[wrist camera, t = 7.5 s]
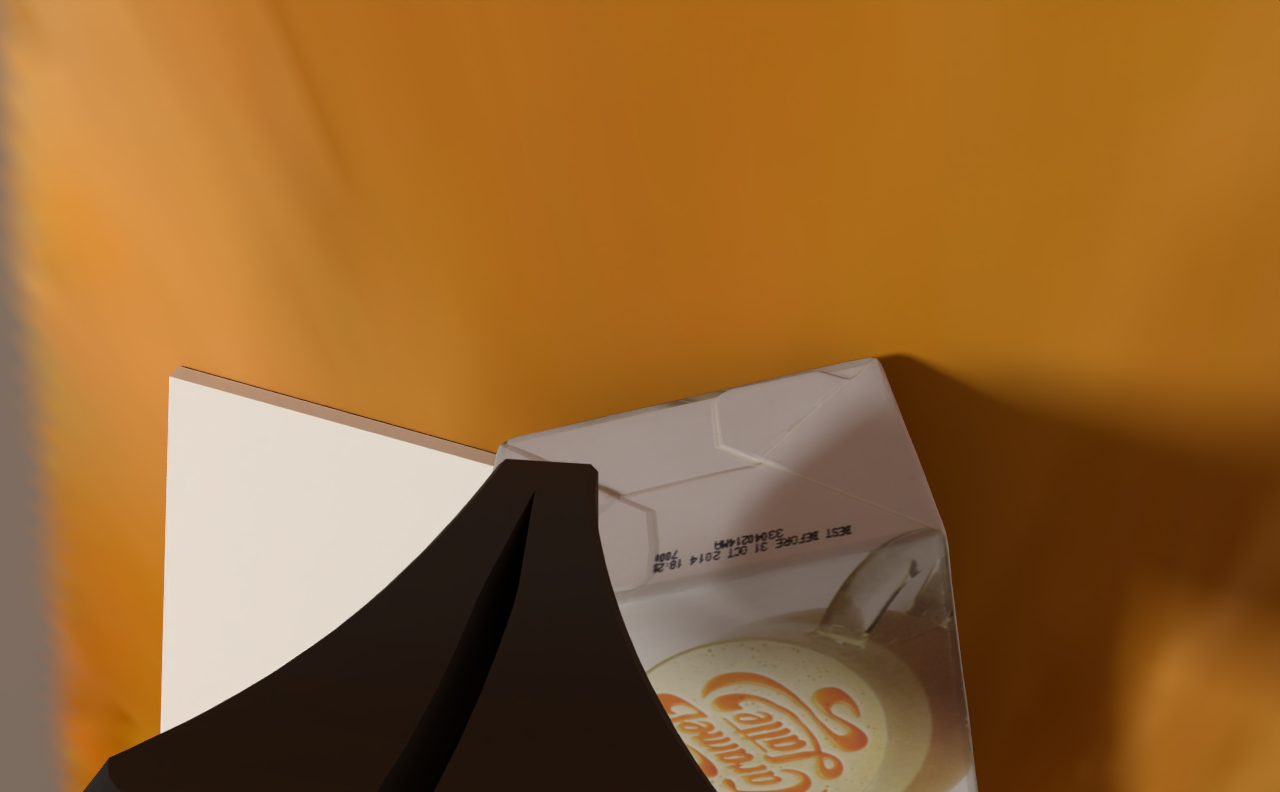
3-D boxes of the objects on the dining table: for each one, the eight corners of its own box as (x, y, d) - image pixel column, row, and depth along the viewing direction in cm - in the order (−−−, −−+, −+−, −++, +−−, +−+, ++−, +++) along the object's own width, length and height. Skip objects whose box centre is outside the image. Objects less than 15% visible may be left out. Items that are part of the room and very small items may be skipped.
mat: (789, 535, 25) (790, 548, 25) (609, 898, 34) (607, 911, 34) (179, 366, 24) (169, 376, 23) (166, 792, 33) (158, 804, 33)
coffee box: (495, 429, 22) (657, 820, 31) (449, 634, 17) (660, 1039, 26) (885, 346, 21) (943, 777, 30) (967, 539, 16) (1009, 998, 24)
